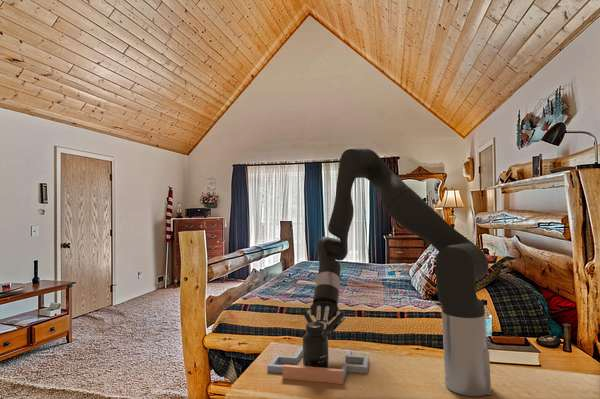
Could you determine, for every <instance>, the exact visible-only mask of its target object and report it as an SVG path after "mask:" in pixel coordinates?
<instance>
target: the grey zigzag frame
mask: <svg viewBox="0 0 600 399" xmlns="http://www.w3.org/2000/svg"><path fill="white" fill-rule="evenodd" d="M302 358H303V345H302V346H300V347H299V348H298V350H297V351H296V352H295V354H294V356H292V355H284V354H283V355H282V354H281V355H279V354H276V355H275V356H274V357H273V358H272V360H271V361H269V363H268V364H267V372H269V373H278V374H279V373H280V374H281V373H282V379H284V380H285V379H286V380H296V381H305V382H306V381H307V382H318V383H326V382H327V383H328V384H339V385H344V383H345V380H346V377H347V373H357V372H359V373H360V374H368V370H369V363H370V355H369V356H368V355H356V354H353V352H352V349H347V350H346V353H345V358H344V359H345V362H346V363H342V365H341V368H331V367H329V368H321V367H309V366H303V365H297V364H298V363H299V361H300V360H301V359H302ZM280 363H283V364H280ZM351 363H359V364H351ZM294 364H295V365H294Z"/></svg>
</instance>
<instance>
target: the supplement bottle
mask: <svg viewBox="0 0 600 399" xmlns="http://www.w3.org/2000/svg"><path fill="white" fill-rule="evenodd" d="M305 332H306V333H305V334H304V335H303V336H302V346H303V355H302V366H309V367H321V368H330V366H329V364H330V362H329V358H330V357H329V337H328V335H326V334H325V333H323V332H324V324H323V322H322V323H321V322H316V321H313V322H309V323H308V322H307V323H306V324H305Z"/></svg>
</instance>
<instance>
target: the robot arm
mask: <svg viewBox="0 0 600 399" xmlns="http://www.w3.org/2000/svg"><path fill="white" fill-rule="evenodd" d="M337 171H338V172H337V179H336V187H335V197H334V204H333V209H332V212H331V215H330V219H329V222H328V226H327V230H328V232H329V233H330V234H331V235H332V236H334V237H336V238H334V237H329V236H322V237H320V239H318V241H317V245H316V250H317V256H318V264H319V265H318V266H319V267H318V273H317V276H316V277H317V278H316V280H315V287H314V292H313V298H312V299H313V300H312V303H311V305H310V308H309V309H308V310H305V309H304V310H302V314H303V315H302V316H303V317H304V319H305V320H306V322H307V323H309V322H314V321H313V319H312V315H313V317H314V318H315V322H321V323H323V324H324V332H323V333H325V334H326V335H327V334H328V333H329V332H331V333H333V332H334V331H335V330H336V329H337V328H338V327H339V326H340V325H341V324H342V323H343V322H344V321H345V320H346V317H345V313H344V312H342V311H340V310H339V294H340V288H341V286H340V278H341V277H340V276H341V268H342V267H341V264H340V261H343V260H344V259H345V260H346V258H347V256H348V249H349V248H348V244H349V243H348V237H349V231H350V228H351V225H352V222H353V218H354V203H353V200H352V189H353V185H354V183H355V181H356V179H361V178H362V179H363V178H364V179H366V180H367V181H369V183H371V184H372V185H373V186H375V188H376V189H377V190H378V192H379V195H380V198H381V199H380V200H381V203H382V206H383V208H384V209H385V212H386V213H387V214H388V215H389V216H390V217H391V218H392V219H393V220H394V221H396V223H397V224H398V225H399V226H401V228H403V229H404V230H406V231H408V232H409V233H412V235H414V236H417V237H418V238H420V239H422V240H423V241H425V242H426V243H428V244H429V245H431V246H432V247H433V248H434V249H436V250H437V252H438V253H437V255H436V258H435V278H436V279H435V281H436V289H437V296H438V300H439V303H440V306H441V317H442V319H441V320H442V322H441V323H442V340H443V341H442V343H443V364H444V365H443V366H444V382H445V383H444V384H445V387H446V388H447V389H448V390H450V391H452V392H453V393H456V394H458V395H462V396H467V397H482V396H486V395H489V396H491V395H492V382H491V381H492V380H491V362H490V361H491V360H490V351H489V349H488V348H487V335H486V334H487V331H486V330H487V329H486V311H485V309H486V308H485V303H484V302H483V300H481V299H479V298H478V295H477V290H476V281H479V280H482V279H483V278H484V277H485V276H486V275H487V274H488V271H489V260H488V258H487V255H486V253H485V252H484V251H483V250H482V249H481V248H480V247H479V246H478V245H476V244H475V243H474V242H472V241H471V240H470V239H468V237H465V236H464V234H462V233H460V232H459V231H458V230H457V229H455V228H454V227H453V226H451V225H450V224H449V223H448V222H447V221H446V220H445V219H444V218H443V217H442V216H441V215H440V214H439V213H438V212H437V211H435V209H433V208H432V207H431V206H430V205H429V204H428V203H427V202H426V200H424V199H423V198H422V197H421V196H420V195H419V194H418V193H417V192H415V190H413V189H412V188H411V187H410V186H408V185H407V184H406V183H405V182H404V181H403V180H402V179H401V178H400V177H398V175H396V174H395V173H394V172H393V170H391V168H389V166H388V165H387V164H386V163H385V162H384V161H383V159H382V158H381V157H380V156H379V155H378V154H377V152H375V151H374V150H372V149H370V148H365V147H349V148H346V149H345V150H344V151H343V152H342V154H341V156H340V159H339V162H338V170H337ZM327 336H328V335H327Z"/></svg>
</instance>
